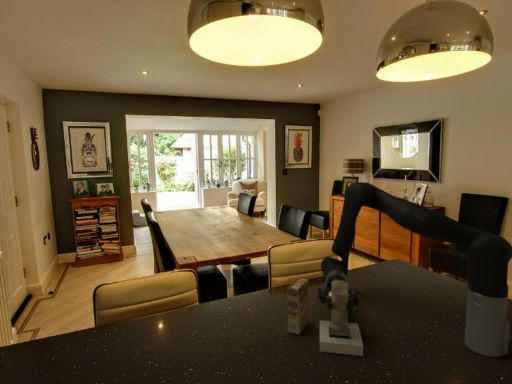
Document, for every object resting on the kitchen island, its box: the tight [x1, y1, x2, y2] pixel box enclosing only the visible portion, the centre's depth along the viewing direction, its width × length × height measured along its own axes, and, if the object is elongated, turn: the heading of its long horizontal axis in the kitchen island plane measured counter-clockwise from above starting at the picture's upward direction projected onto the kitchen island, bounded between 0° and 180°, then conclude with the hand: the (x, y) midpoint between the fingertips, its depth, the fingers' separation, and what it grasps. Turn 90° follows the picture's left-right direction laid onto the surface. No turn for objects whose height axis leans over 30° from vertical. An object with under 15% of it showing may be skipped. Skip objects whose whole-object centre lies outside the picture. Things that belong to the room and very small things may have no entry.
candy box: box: [286, 277, 309, 335], centre depth 101 cm, size 9×4×15 cm, turn 150°
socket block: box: [319, 319, 364, 357], centre depth 93 cm, size 12×12×3 cm
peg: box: [330, 280, 349, 332], centre depth 92 cm, size 5×5×14 cm
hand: (340, 308), depth 90 cm, fingers closed on peg, 4 cm apart
